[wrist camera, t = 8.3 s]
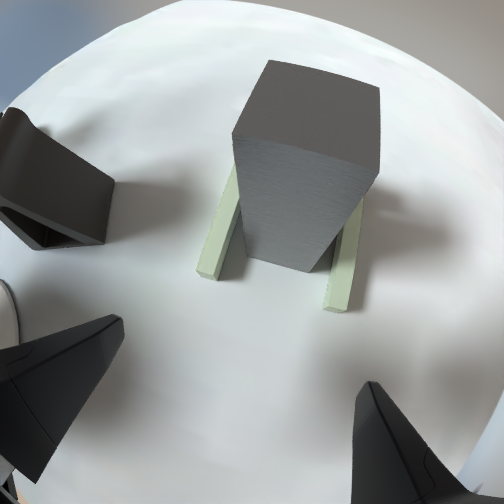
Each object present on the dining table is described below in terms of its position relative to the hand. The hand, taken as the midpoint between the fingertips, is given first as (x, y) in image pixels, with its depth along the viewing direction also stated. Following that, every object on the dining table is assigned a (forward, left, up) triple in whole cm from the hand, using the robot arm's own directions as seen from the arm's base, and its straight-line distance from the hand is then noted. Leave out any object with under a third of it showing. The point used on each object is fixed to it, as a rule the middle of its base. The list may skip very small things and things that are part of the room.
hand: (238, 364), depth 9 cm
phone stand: (+9, +17, -10) cm, 22 cm away
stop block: (+8, -2, -9) cm, 13 cm away
